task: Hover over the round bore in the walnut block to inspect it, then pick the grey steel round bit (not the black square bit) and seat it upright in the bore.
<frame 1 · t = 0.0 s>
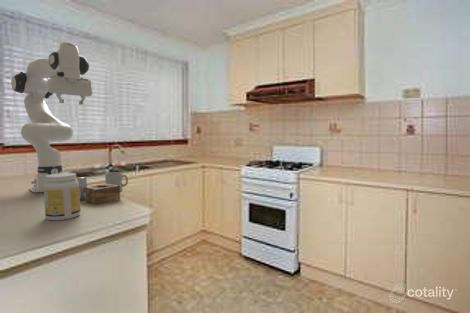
hand: (71, 103, 147), 48 cm above the countertop, fingers open, 8 cm apart
bore block: (103, 200, 142), on the countertop
mug: (117, 192, 164), on the countertop
round bit: (82, 199, 144), on the countertop
square bit: (64, 206, 132), on the countertop
supplement tub: (63, 217, 115), on the countertop
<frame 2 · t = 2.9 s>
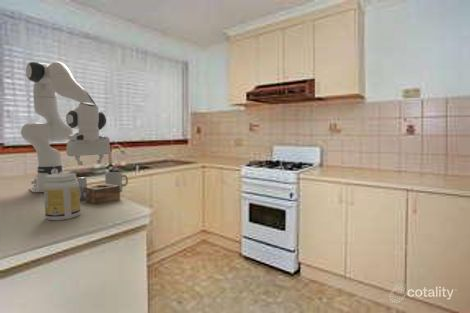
hand: (89, 164, 143), 18 cm above the countertop, fingers open, 8 cm apart
nothing on the countertop moved.
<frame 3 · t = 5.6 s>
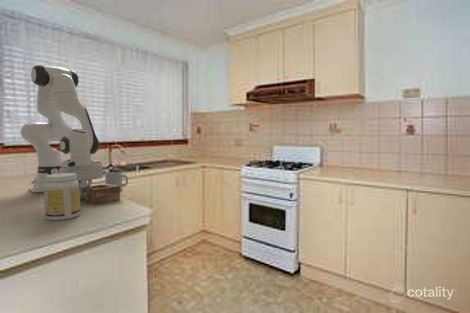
hand: (82, 189, 144), 5 cm above the countertop, fingers closed on round bit, 4 cm apart
round bit: (82, 199, 144), on the countertop, touching gripper
everything else where it was.
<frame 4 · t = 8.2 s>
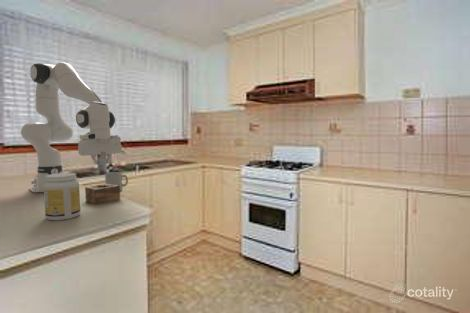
hand: (101, 163, 141), 18 cm above the countertop, fingers closed on round bit, 4 cm apart
round bit: (102, 174, 141), point 13 cm above the countertop, touching gripper
everything else where it was.
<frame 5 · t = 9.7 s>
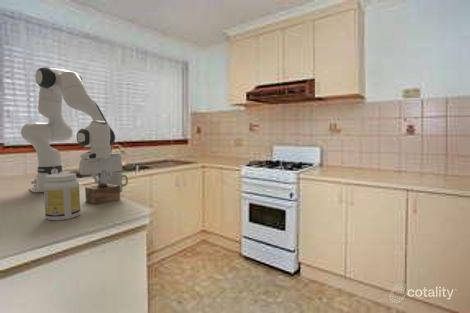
hand: (102, 182, 142), 9 cm above the countertop, fingers closed on round bit, 4 cm apart
round bit: (103, 192, 142), point 4 cm above the countertop, touching gripper
everything else where it was.
when the fingers open (8 cm above the countertop, at t = 11.0 s): round bit stays where it is, resting on bore block.
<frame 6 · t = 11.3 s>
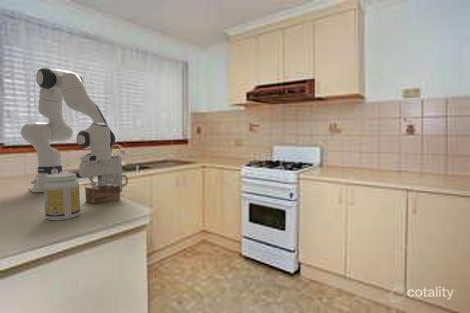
hand: (102, 184, 142), 8 cm above the countertop, fingers open, 7 cm apart
round bit: (102, 196, 142), point 2 cm above the countertop, touching bore block
everything else where it was.
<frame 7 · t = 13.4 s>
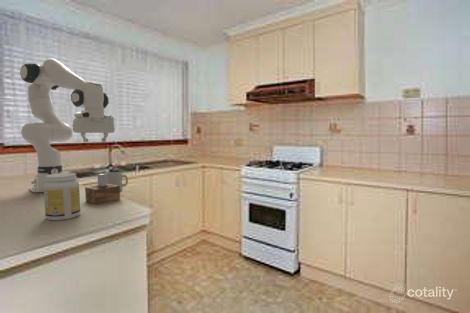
hand: (95, 141, 148), 29 cm above the countertop, fingers open, 8 cm apart
nothing on the countertop moved.
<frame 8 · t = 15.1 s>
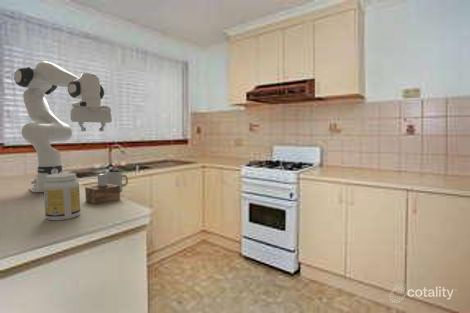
hand: (92, 131, 152), 34 cm above the countertop, fingers open, 8 cm apart
nothing on the countertop moved.
at the end: round bit 0.0 cm off-centre on the bore block, point 2.0 cm above the bore block's base; round bit tilted 0°; the gripper is holding nothing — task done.
